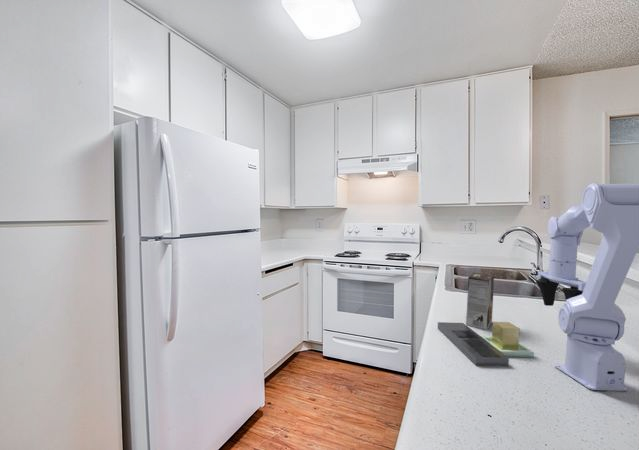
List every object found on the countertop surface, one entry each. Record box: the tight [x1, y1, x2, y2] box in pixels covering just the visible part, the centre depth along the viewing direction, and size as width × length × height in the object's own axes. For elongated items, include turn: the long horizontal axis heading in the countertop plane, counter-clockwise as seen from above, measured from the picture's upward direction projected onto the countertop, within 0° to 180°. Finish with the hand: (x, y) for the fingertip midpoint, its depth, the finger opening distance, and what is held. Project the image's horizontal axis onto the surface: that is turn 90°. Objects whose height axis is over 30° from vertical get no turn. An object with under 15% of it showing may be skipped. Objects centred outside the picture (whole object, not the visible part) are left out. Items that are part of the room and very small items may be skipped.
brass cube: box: [491, 321, 521, 350], centre depth 79 cm, size 4×4×6 cm
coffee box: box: [465, 272, 495, 331], centre depth 97 cm, size 9×6×16 cm
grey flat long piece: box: [437, 321, 510, 367], centre depth 81 cm, size 22×8×2 cm, turn 1°
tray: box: [480, 335, 535, 358], centre depth 79 cm, size 9×9×1 cm
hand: (559, 309), depth 81 cm, fingers open, 7 cm apart
